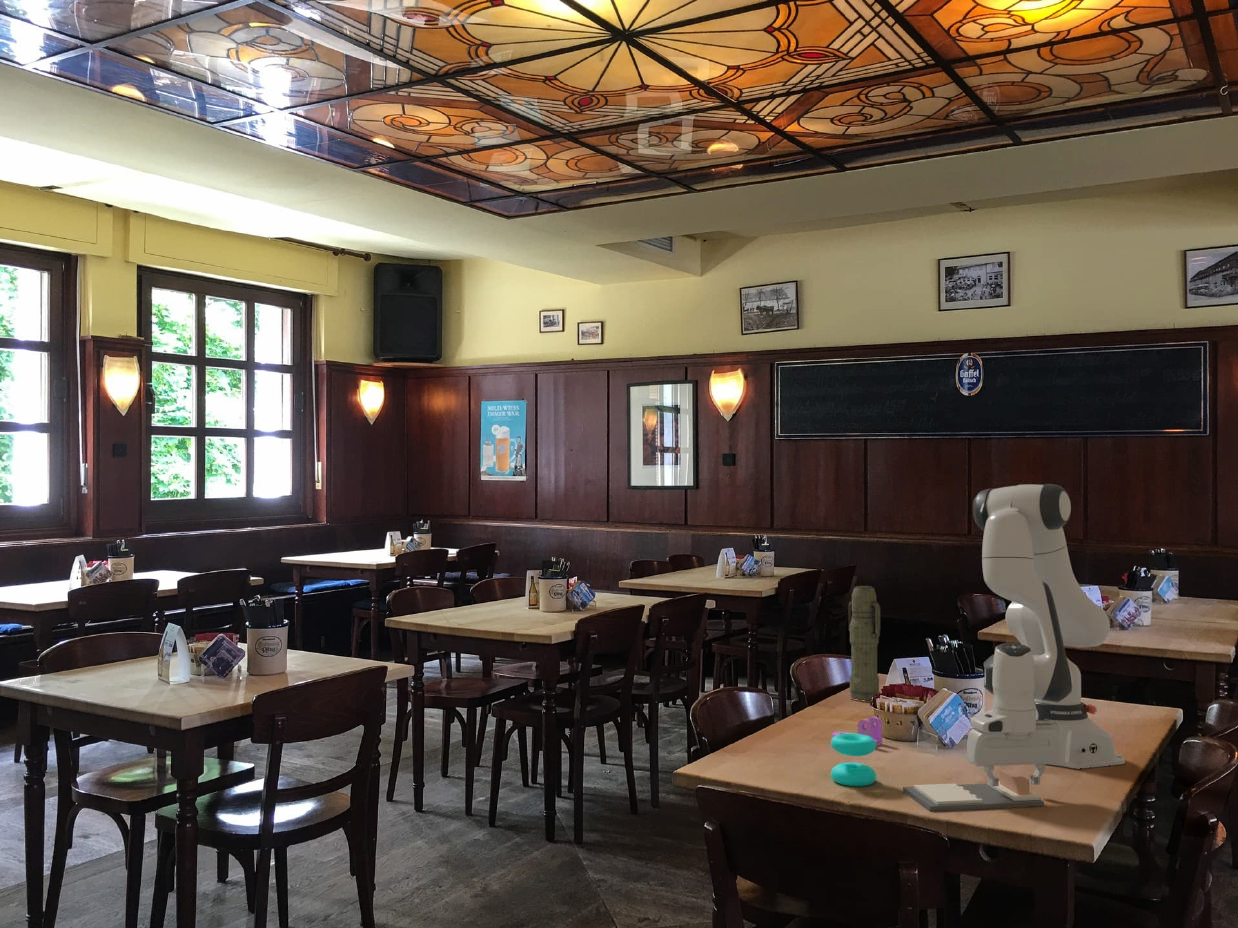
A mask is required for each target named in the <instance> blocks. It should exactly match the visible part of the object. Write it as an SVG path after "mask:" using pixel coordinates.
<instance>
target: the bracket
mask: <svg viewBox="0 0 1238 928" xmlns="http://www.w3.org/2000/svg"><path fill="white" fill-rule="evenodd" d="M846 733H850V732H848V731H835V732H832V734H831V739H832V738H833V737H834V736H836V735H839V734H846ZM857 734H862V735H867V736H869V737H871V738H873V739H874V740H875V742H876V747H878V746H881V745H883V721H882V720H881V718H879V716H876V715H875V716H872V717H869V718H863V719H861V720H859V721H858V723H857Z"/></svg>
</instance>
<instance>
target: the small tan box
mask: <svg viewBox="0 0 1238 928" xmlns="http://www.w3.org/2000/svg"><path fill="white" fill-rule="evenodd" d="M998 783H999V786H990V785H989V781H987V783H986V784H987V785H989V786H990V787H992V788H994V789H995V790H997V791H999V792H1000V793H1002V794H1004V795H1005V796H1007V797H1009V798H1010V799H1012V800H1014V801H1022V800H1042V796H1041V795H1038V794H1037V793H1036V792H1034V791H1032V790H1030V779H1028V778H1027V777H1024V776H1023V775H1020V774H1019V773H1017V772H1015V771H1013V770H1012V769H1002V770H1001V769H1000V770H999V782H998Z"/></svg>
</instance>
